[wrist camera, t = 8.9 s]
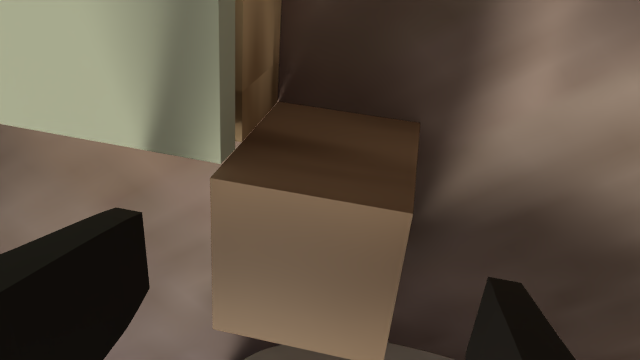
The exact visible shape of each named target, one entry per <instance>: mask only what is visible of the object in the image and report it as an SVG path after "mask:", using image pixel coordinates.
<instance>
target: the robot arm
mask: <svg viewBox="0 0 640 360" xmlns="http://www.w3.org/2000/svg"><path fill="white" fill-rule="evenodd" d="M149 288H150V287H149V277H148V267H147V258H146V248H145V238H144V228H143V218H142V212H137V211H131V210H126V209H121V208H113V209H110V210H107V211H104V212H102V213H99V214H96V215H94V216H91V217H89V218H86V219H84V220H81V221H79V222H77V223H74V224H72V225H70V226H67V227H65V228H63V229H60V230H58V231H55V232H53V233H51V234H48V235H46V236H44V237H41V238H39V239H37V240H34V241H32V242H29V243H27V244H25V245H22V246H20V247H18V248H15V249H13V250H10V251H8V252H5V253H2V254H0V360H103V359H104V358H105V357H106V355H107V354H108V353H109V351H110V350H111V349H112V347H113V346H114V345H115V343H116V342H117V341H118V340H119V338H120V337H121V335H122V334H123V333H124V331H125V330H126V329H127V327H128V325H129V324H130V322H131V320H132V319H133V317H134V315H135V314H136V312H137V310H138V308H139V307H140V305H141V303H142V301H143V299H144V297H145V296H146V294H147V292H148V290H149ZM466 360H576V359H575V358H574V357H573V355H572V354H571V353H570V351H569V350H568V349H567V347H566V346H565V345H564V343H563V342H562V340H561V339H560V338H559V336H558V335H557V333H556V332H555V331H554V329H553V328H552V326H551V325H550V324H549V322H548V321H547V319H546V318H545V316H544V315H543V314H542V312H541V311H540V309H539V308H538V306H537V305H536V303H535V302H534V301H533V299H532V298H531V296H530V295H529V293H528V292H527V291H526V289H525V288H524V286H523V285H522V284H521V283H518V282H513V281H507V280H502V279H497V278H491V277H488V280H487V283H486V286H485V290H484V293H483V297H482V300H481V303H480V307H479V310H478V314H477V317H476V320H475V324H474V327H473V331H472V334H471V338H470V341H469V344H468V348H467V351H466Z"/></svg>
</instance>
